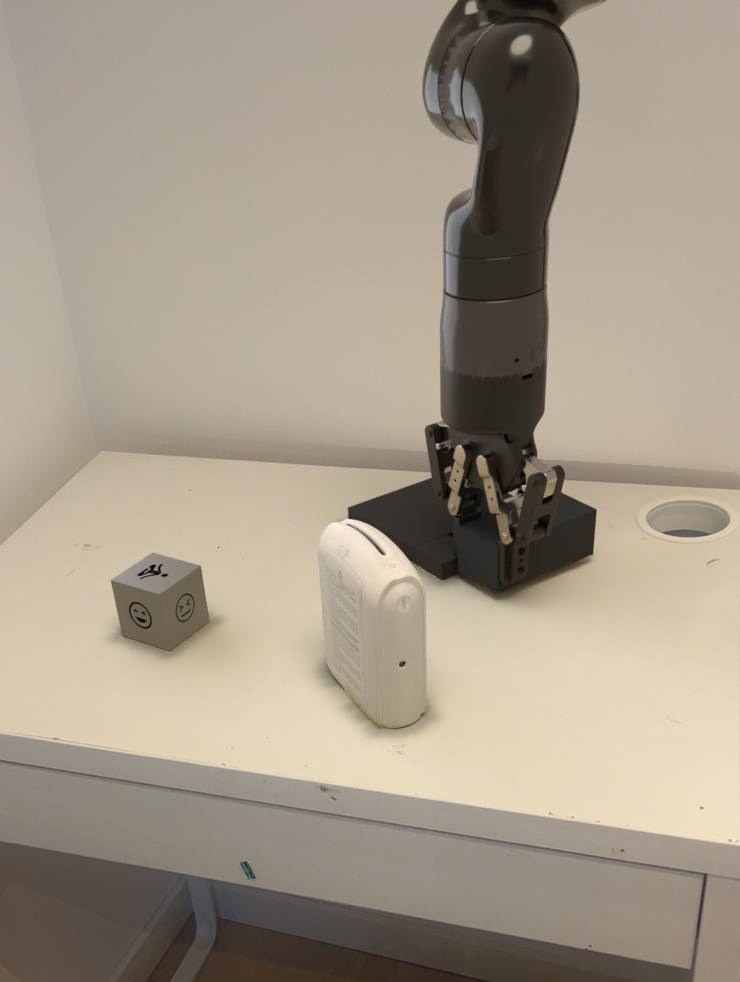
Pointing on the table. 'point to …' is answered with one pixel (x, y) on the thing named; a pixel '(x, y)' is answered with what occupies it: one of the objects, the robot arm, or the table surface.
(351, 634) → the photo printer
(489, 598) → the table surface
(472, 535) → the black t-shaped block
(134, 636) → the dice cube
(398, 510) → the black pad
